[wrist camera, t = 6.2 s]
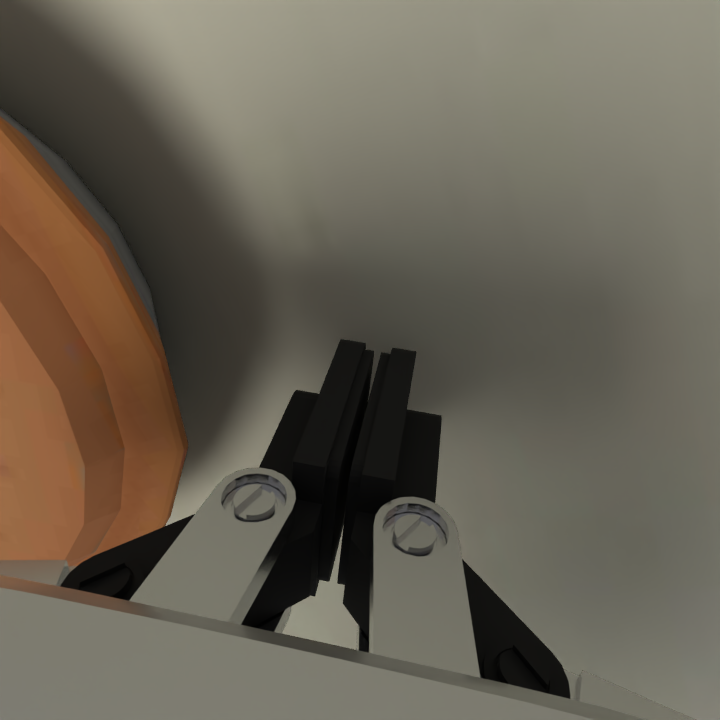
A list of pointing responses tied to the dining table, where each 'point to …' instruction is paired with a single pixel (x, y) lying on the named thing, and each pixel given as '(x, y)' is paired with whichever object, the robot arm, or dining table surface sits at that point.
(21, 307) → the pie
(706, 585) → the dining table surface
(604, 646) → the dining table surface
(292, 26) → the dining table surface
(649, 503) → the dining table surface
